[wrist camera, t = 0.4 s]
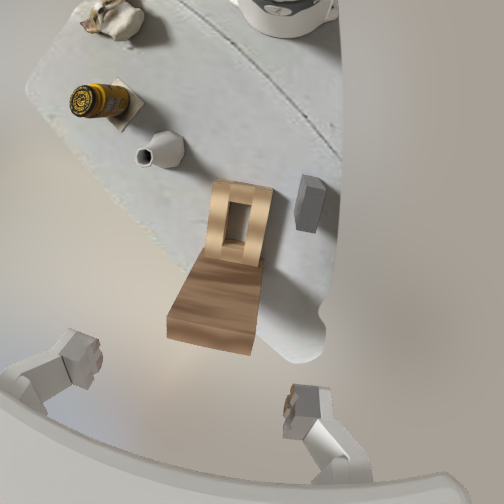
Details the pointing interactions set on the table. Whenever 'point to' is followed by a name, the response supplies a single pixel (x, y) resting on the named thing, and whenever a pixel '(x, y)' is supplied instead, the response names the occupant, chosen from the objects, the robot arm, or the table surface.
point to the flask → (162, 151)
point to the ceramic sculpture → (114, 19)
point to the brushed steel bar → (309, 203)
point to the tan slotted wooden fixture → (224, 276)
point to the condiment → (106, 102)
